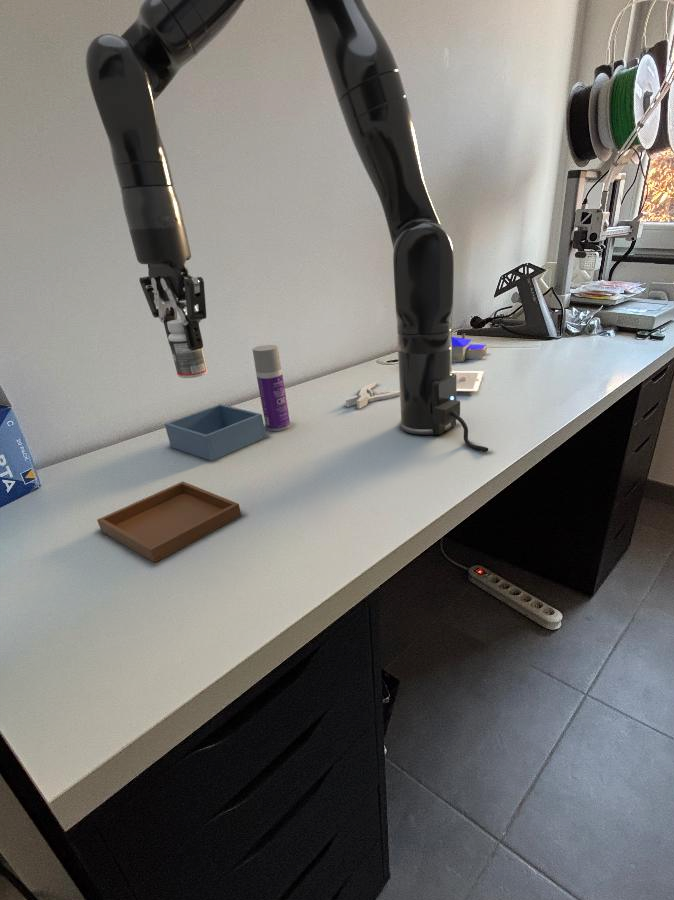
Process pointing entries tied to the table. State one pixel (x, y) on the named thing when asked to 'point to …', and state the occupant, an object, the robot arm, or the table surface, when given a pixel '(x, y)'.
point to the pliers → (365, 397)
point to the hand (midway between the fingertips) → (186, 347)
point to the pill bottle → (185, 352)
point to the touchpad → (468, 380)
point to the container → (271, 387)
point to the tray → (169, 520)
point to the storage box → (212, 446)
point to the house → (466, 349)
